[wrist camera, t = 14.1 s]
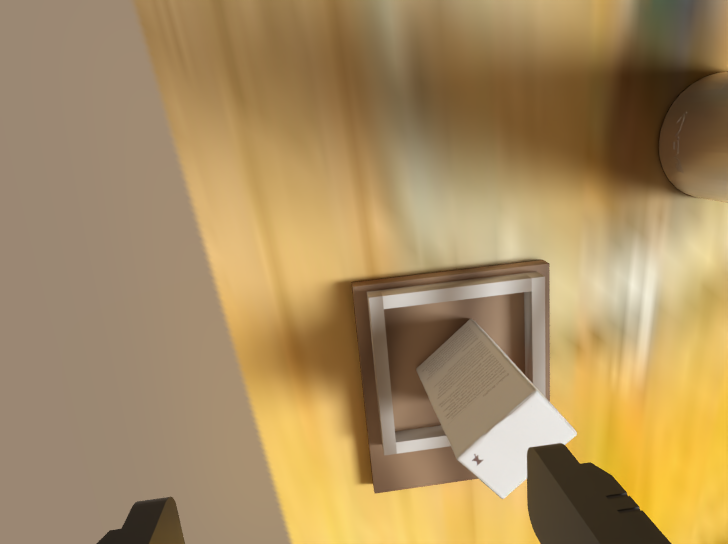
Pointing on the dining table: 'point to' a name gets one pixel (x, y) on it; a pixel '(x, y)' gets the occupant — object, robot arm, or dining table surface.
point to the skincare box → (489, 408)
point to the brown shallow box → (422, 338)
